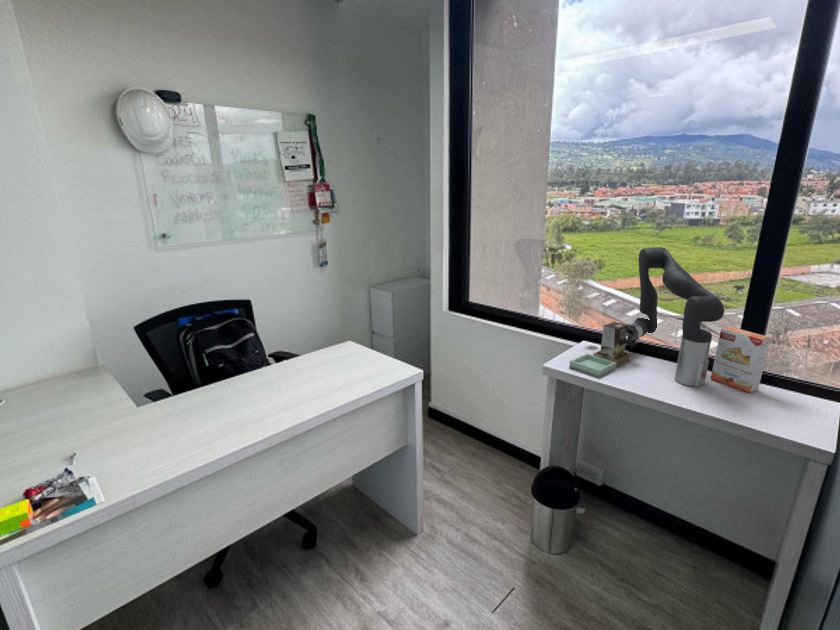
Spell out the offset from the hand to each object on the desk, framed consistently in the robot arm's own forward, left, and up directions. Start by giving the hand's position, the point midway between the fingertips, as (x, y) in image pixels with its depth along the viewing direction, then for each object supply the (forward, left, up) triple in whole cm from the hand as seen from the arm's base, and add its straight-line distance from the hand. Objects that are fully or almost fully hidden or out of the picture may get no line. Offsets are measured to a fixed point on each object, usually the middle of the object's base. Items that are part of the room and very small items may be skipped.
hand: (611, 341), depth 183 cm
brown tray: (0, -2, -10) cm, 10 cm away
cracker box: (-41, -15, -10) cm, 45 cm away
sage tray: (+1, +11, -10) cm, 15 cm away
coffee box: (0, -2, -10) cm, 10 cm away
